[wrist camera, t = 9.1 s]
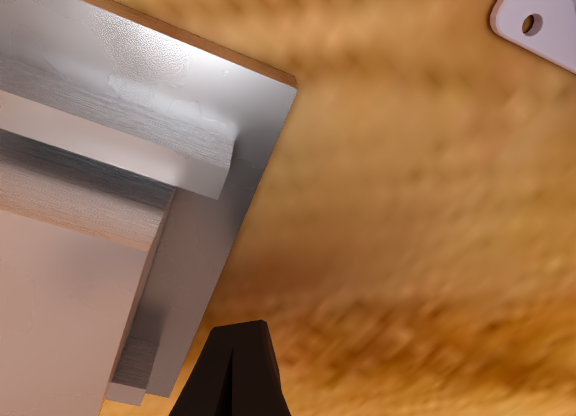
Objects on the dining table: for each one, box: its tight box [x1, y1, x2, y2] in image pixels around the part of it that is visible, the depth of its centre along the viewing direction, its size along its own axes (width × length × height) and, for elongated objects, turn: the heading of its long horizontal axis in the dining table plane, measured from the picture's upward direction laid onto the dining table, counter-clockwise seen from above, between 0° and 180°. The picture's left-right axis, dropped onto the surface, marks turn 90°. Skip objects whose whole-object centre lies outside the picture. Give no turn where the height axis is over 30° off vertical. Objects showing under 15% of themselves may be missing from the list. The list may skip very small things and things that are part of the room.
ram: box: [0, 128, 177, 416], centre depth 10 cm, size 5×6×4 cm
